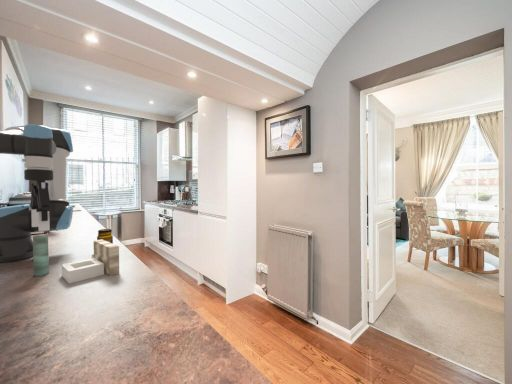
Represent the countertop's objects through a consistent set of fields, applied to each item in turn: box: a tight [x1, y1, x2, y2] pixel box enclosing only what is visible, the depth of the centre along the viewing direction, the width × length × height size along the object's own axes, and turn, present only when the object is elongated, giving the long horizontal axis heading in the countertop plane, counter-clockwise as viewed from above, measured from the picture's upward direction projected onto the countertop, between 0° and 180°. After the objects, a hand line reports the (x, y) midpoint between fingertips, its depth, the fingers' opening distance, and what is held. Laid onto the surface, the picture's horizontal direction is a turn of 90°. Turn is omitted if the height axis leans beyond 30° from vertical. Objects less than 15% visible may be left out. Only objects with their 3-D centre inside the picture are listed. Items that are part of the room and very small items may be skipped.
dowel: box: [32, 234, 50, 277], centre depth 83 cm, size 4×4×14 cm
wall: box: [93, 239, 120, 277], centre depth 88 cm, size 17×3×10 cm, turn 51°
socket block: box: [61, 258, 105, 284], centre depth 82 cm, size 10×10×4 cm
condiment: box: [90, 228, 114, 259], centre depth 105 cm, size 7×8×12 cm
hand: (40, 228), depth 82 cm, fingers open, 13 cm apart
